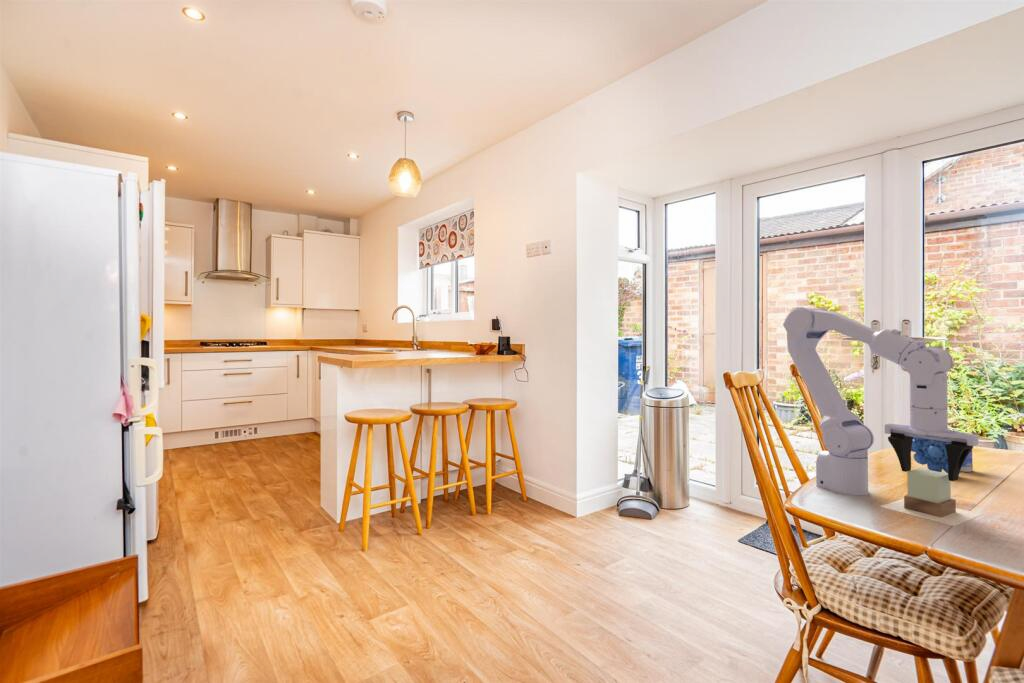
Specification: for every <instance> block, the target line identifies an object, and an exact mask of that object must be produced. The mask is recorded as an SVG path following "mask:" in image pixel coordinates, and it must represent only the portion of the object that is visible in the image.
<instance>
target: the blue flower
mask: <svg viewBox="0 0 1024 683" xmlns="http://www.w3.org/2000/svg"><path fill="white" fill-rule="evenodd" d="M917 435H918V434H917ZM924 436H927V435H924ZM932 437H938V436H932ZM946 439H947V438H946ZM946 444H951V442H946V441H939V440H932V439H925V438H918V437H913V441H912V447H911V452H913V453H914V454H913V460H914V461H915V462H916V463H917V464H920V465H922V466H924V465H926V466H927V470H932V471H937V472H942V471H944V473H948V457H947V452H946V448H945V445H946ZM966 464H967V461H966V459H965V461H964V463H963V465H962V467H964V466H966ZM942 473H943V472H942Z"/></svg>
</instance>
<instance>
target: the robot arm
mask: <svg viewBox="0 0 1024 683" xmlns="http://www.w3.org/2000/svg"><path fill="white" fill-rule="evenodd" d="M782 326H783V327H784V329H785V331H786V344H787V351H788V353H789V355H790V358H791V359H792V361H793V364H794V365H795V367H796V369H797V371H798V373H799V375H800V376H801V379H802V381H803V382H804V385H805V386H806V388H807V391H808V392H809V394H810V396H811V398H812V400H813V402H814V403H815V405H816V407H817V409H818V411H819V413H820V415H821V417H822V418H821V421H820V423H819V428H820V431H821V434H822V443H823V446H825V448H826V450H821V451H820V452H819V453H818V454H817V458H816V461H815V462H816V463H815V468H816V469H815V470H816V472H815V474H816V475H815V476H816V478H815V479H816V480H815V481H816V484H815V485H816V486H815V488H822V489H826V490H830V491H833V492H836V493H837V494H838V493H840V494H843V495H850V496H867V495H868V494H869V457H868V455H869V452H868V451H869V449H870V448H871V447H872V446H873V444H874V441H875V437H874V434H873V432H872V430H871V429H870V428H869V427H868V426H867V425H865V423H864V422H862V420H861V419H860V417H859V415H857V414H856V413H854V412H852V411H851V410H850V409H849V408H848V407H847V405H846V403H845V401H844V399H843V397H842V395H841V394H840V392H839V390H838V389H837V388H838V387H836V385H835V383H834V381H833V378H832V377H831V375H830V374H829V372H828V369H826V367H825V365H824V363H823V361H822V359H821V357H820V355H819V354H818V351H817V350H816V349H817V346H818V345H819V343H820V341H821V340H822V338H824V336H825V335H826V334H827V333H828V332H829V331H833V332H836V333H840V334H842V335H844V336H847V337H849V338H852V339H854V340H857V341H859V342H862V343H864V344H867V345H868V347H869V349H870V352H871V353H872V354H875V355H876V356H879V357H881V358H884V359H886V360H887V361H890V362H892V363H894V364H897V365H898V366H901V367H903V368H904V370H905V371H906V372H907V373H908V374H909V425H906V424H896V423H885V424H884V434H886V435H887V434H888V435H889V436H887V440H888V442H889V443H890V445H891V447H892V448H893V450H894V452H895V454H896V457H897V459H898V462H899V465H900V469H901V472H907V471H911V470H912V451H911V447H912V441H913V440H914V439H913V437H918V438H925V439H932V440H939V441H946V442H951V444H946V445H945V448H946V452H947V457H948V479H949V481H950V482H955V481H958V480H959V476H960V473H961V472H960V470H961V467H962V465H963V463H964V461H965V459H966V457H967V456H968V454H969V453H970V451H971V450H972V451H973V448H974V447H975V446H976V447H977V446H979V434H975V433H966V432H962V431H961V432H960V431H955V430H950V429H949V428H948V425H949V419H948V418H949V417H948V414H949V413H948V412H949V410H948V408H949V407H948V406H949V405H948V372H949V371H950V369H952V366H953V357H952V355H951V354H950V353H949V351H947V350H945V349H944V348H942V347H941V346H937V345H936V346H933V345H932V346H927V345H926V344H927V342H926V341H924V340H922V339H921V340H919V339H918V340H915V339H913V338H911V337H908V336H905V335H903V334H902V331H901V330H899V329H896V328H893V329H889V328H887V329H882V330H879V331H877V330H875V329H873V328H871V327H870V326H867V325H865V324H863V323H861V322H859V321H858V320H857V321H856V320H854V319H852V318H850V317H848V316H845V315H843V314H841V313H839V312H837V311H834V310H829V309H827V308H826V307H825V308H824V307H816V308H814V307H804V306H797V307H794V308H792V309H790V310H789V312H788V313H787V314H786V317H785V319H784V322H783V324H782ZM917 434H918V435H917ZM924 435H927V436H924ZM932 436H938V437H932ZM946 438H947V439H946Z"/></svg>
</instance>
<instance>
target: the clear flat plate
mask: <svg viewBox="0 0 1024 683" xmlns="http://www.w3.org/2000/svg"><path fill="white" fill-rule="evenodd" d="M879 507H880V508H883V509H887V510H892V511H895V512H899V513H902V514H907V515H910V516H915V517H918V518H922V519H926V520H929V521H932V522H937V523H942V524H944V525H945V524H946V525H949V526H953V527H955V526H957V525H960V524H963V523H966V522H967V521H970V520H973V519H975V518H978V517H979V516H982V515H983V513H979V512H975V511H970V510H966V509H963V508H959V507H956V512H955V513H952V514H950V515H947V516H944V517H942V518H941V517H937V516H933V515H929V514H925V513H921V512H917V511H913V510H909V509H905V508H904V498H902V499H899V500H895V501H892V502H888V503H885V504H883V505H880V506H879Z"/></svg>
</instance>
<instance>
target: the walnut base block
mask: <svg viewBox="0 0 1024 683" xmlns="http://www.w3.org/2000/svg"><path fill="white" fill-rule="evenodd" d="M903 499H904V508H905V509H909V510H913V511H917V512H921V513H925V514H929V515H933V516H937V517H941V518H942V517H944V516H947V515H950V514H952V513H955V512H956V508H957V505H956V503H957V501H956V499H955V498H951V499H950V500H947V501H944V502H941V503H934V502H930V501H926V500H921V499H917V498H913V497H909V496H908V494H906V495H903Z"/></svg>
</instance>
